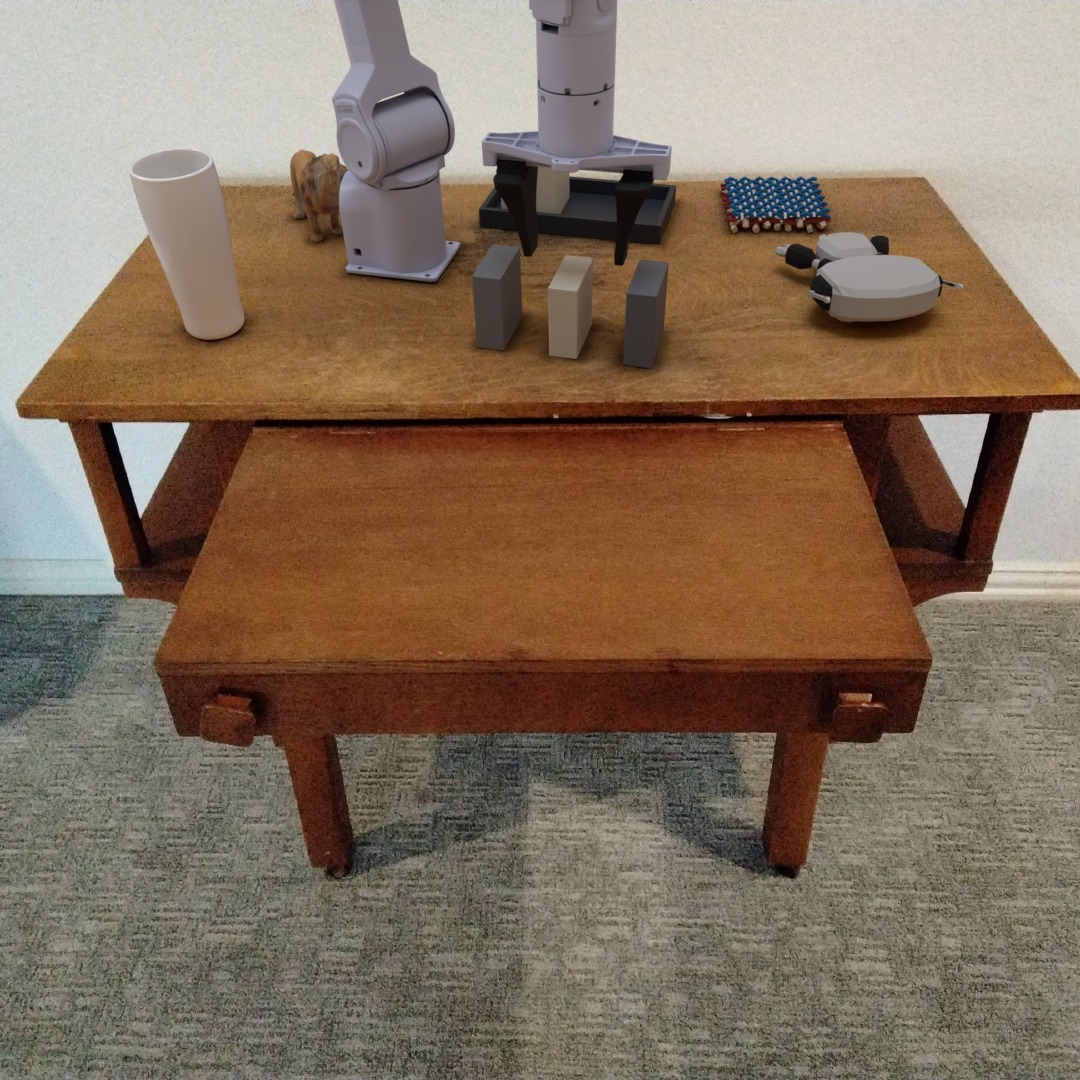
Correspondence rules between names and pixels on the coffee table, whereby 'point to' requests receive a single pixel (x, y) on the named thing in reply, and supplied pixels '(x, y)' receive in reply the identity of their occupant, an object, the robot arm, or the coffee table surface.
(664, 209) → the tray
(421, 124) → the robot arm
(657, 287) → the grey books
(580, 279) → the cream rectangular block
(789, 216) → the woven mat
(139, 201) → the drinking glass
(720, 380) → the coffee table surface
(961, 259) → the coffee table surface
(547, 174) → the cream books on tray
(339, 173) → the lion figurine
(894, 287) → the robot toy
